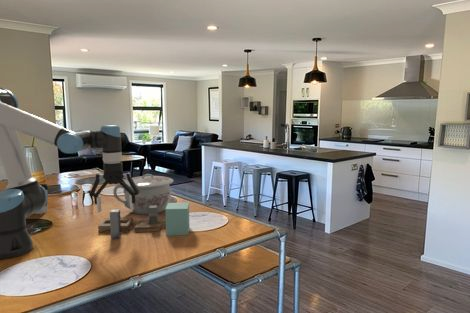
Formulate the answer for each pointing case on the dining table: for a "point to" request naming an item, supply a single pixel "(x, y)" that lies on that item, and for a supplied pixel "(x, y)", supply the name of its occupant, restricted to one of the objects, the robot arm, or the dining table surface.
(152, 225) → the board
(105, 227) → the build board
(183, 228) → the block
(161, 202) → the chamber pot
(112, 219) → the pin
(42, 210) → the coffee cup
